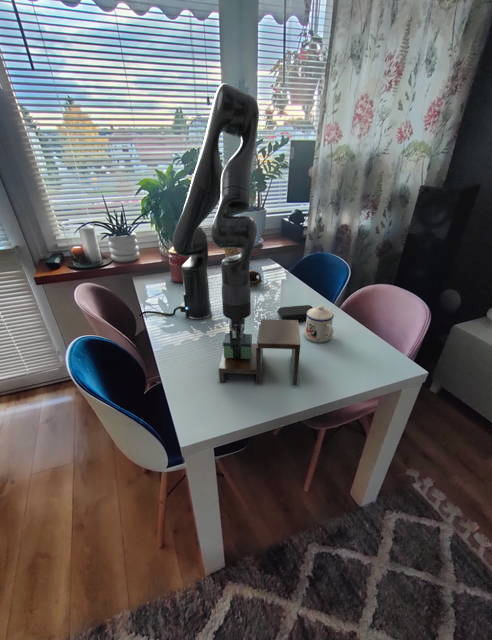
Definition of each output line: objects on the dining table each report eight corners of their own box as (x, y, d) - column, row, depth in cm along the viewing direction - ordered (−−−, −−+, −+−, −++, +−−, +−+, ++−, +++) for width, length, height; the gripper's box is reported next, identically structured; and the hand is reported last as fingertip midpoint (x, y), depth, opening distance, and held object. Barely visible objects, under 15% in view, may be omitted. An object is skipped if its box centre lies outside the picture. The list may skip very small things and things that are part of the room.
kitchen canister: (176, 273, 170) (171, 238, 160) (200, 274, 169) (196, 239, 159) (167, 282, 159) (161, 245, 150) (192, 283, 158) (188, 246, 148)
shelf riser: (219, 382, 93) (216, 342, 85) (226, 355, 104) (224, 318, 97) (296, 385, 91) (300, 344, 84) (295, 358, 103) (298, 320, 95)
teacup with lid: (299, 333, 116) (302, 303, 110) (320, 328, 119) (324, 298, 113) (318, 349, 107) (322, 317, 101) (340, 343, 110) (346, 312, 104)
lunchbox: (223, 358, 93) (222, 343, 90) (226, 347, 98) (225, 333, 95) (250, 359, 93) (250, 344, 90) (252, 348, 97) (251, 333, 94)
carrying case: (282, 325, 121) (320, 322, 124) (283, 318, 120) (321, 314, 122) (276, 313, 130) (311, 310, 132) (276, 306, 129) (312, 303, 131)
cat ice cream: (240, 262, 185) (239, 229, 175) (237, 266, 179) (236, 232, 169) (225, 261, 187) (223, 228, 177) (222, 265, 180) (219, 231, 170)
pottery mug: (265, 284, 158) (266, 272, 151) (256, 298, 155) (256, 287, 147) (243, 274, 161) (243, 263, 153) (234, 288, 157) (233, 277, 150)
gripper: (226, 287, 92) (228, 338, 101) (217, 309, 80) (221, 365, 89) (252, 288, 91) (252, 339, 101) (248, 310, 79) (248, 366, 89)
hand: (238, 351), depth 95 cm, fingers closed on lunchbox, 5 cm apart
